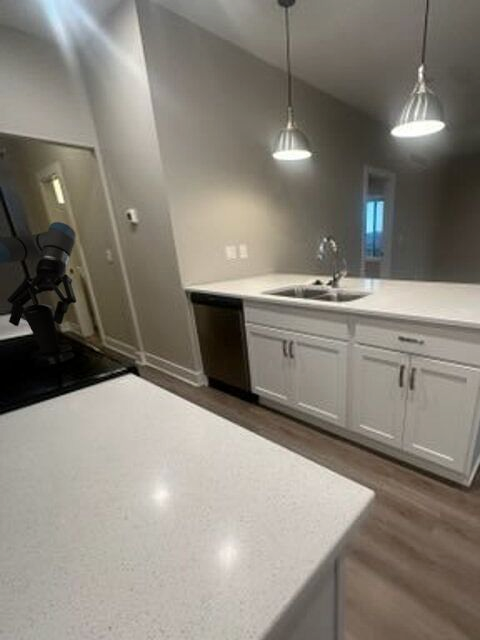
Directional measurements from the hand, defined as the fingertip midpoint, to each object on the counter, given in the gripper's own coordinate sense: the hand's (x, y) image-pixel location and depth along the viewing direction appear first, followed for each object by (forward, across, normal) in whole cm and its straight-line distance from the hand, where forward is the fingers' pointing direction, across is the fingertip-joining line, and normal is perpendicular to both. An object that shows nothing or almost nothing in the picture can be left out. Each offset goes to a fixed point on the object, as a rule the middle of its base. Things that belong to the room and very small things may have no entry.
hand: (35, 323), depth 103 cm
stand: (+8, 0, -11) cm, 14 cm away
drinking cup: (+5, 0, -9) cm, 10 cm away
